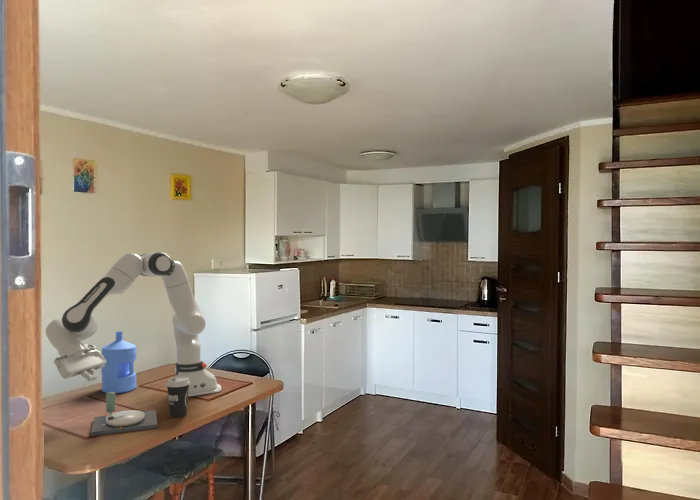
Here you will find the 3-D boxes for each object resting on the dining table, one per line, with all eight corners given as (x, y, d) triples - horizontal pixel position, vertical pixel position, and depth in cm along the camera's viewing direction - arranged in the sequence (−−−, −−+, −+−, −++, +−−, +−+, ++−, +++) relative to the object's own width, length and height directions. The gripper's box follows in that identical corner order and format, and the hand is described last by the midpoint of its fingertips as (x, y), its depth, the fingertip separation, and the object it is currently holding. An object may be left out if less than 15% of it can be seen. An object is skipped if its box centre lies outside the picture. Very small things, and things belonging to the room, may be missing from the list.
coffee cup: (171, 411, 218) (171, 375, 218) (193, 411, 218) (193, 376, 218) (162, 418, 209) (162, 381, 209) (185, 419, 208) (185, 382, 208)
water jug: (94, 393, 244) (94, 334, 243) (113, 384, 259) (113, 329, 259) (125, 394, 242) (125, 335, 242) (142, 385, 257) (142, 329, 257)
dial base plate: (156, 413, 215) (155, 409, 215) (157, 428, 198) (157, 423, 198) (94, 420, 206) (94, 416, 206) (90, 436, 189) (90, 431, 189)
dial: (137, 411, 212) (137, 383, 212) (150, 420, 202) (150, 390, 201) (100, 419, 202) (100, 389, 202) (112, 429, 192) (112, 397, 192)
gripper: (56, 353, 198) (76, 381, 195) (97, 343, 217) (116, 368, 214) (47, 364, 199) (67, 391, 196) (89, 353, 219) (107, 378, 216)
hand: (93, 379), depth 205 cm, fingers closed
